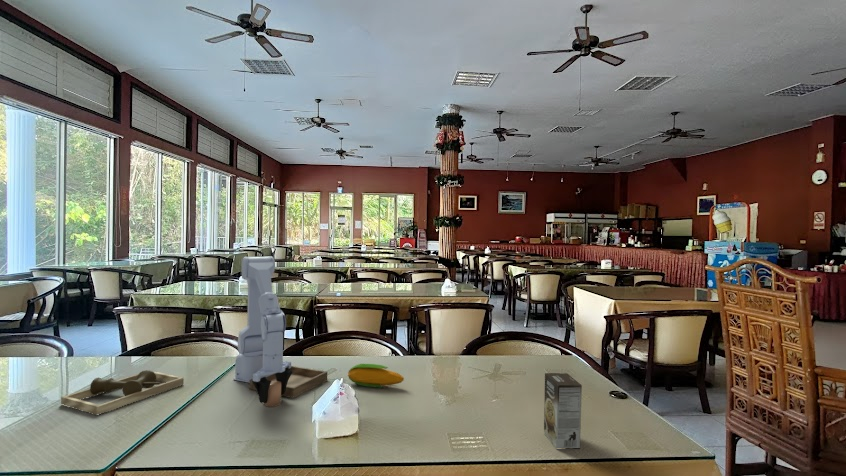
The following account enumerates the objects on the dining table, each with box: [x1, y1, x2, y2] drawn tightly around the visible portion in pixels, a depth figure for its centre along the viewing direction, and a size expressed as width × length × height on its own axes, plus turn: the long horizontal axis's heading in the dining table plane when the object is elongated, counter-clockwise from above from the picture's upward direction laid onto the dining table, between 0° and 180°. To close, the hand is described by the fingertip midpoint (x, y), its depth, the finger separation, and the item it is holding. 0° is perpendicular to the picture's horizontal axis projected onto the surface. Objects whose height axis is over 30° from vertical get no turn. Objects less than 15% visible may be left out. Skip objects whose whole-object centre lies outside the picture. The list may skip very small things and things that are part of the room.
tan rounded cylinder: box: [263, 381, 282, 408], centre depth 134 cm, size 5×5×6 cm
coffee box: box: [543, 372, 583, 449], centre depth 113 cm, size 9×6×16 cm
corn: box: [347, 363, 405, 388], centre depth 151 cm, size 7×8×20 cm
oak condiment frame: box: [60, 370, 185, 415], centre depth 139 cm, size 17×27×2 cm, turn 157°
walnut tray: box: [249, 365, 328, 399], centre depth 150 cm, size 18×18×3 cm
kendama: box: [89, 369, 162, 396], centre depth 139 cm, size 6×10×20 cm
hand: (272, 397), depth 134 cm, fingers open, 7 cm apart
